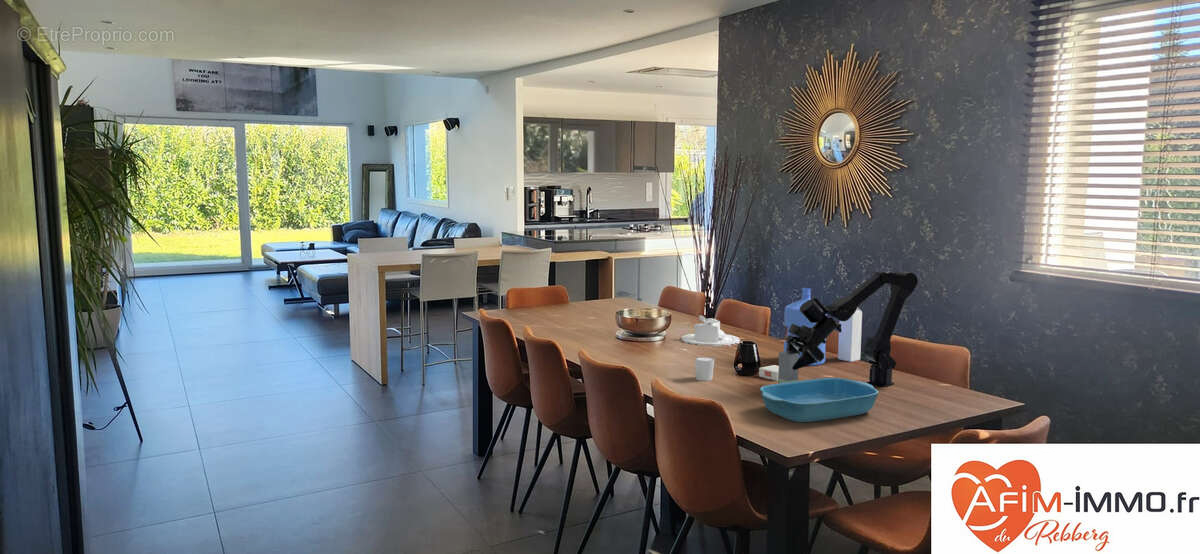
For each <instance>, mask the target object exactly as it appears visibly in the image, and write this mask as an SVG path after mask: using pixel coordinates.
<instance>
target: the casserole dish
mask: <svg viewBox="0 0 1200 554" xmlns="http://www.w3.org/2000/svg"><path fill="white" fill-rule="evenodd" d="M759 390H760V394H761V398H762V400H763V401H762V402H763V404H764V406H765V408H766V409H767V410H768V411H769V412H771V413H772V414H775V415H777V416H779V417H782V418H783V419H785V420H789V421H792V422H796V423H812V422H821V421H829V420H835V419H840V418H841V419H842V418H848V417H856V416H860V415H863V414H866V413H867V412H869V411H871V410H872V408H873V407H874V405H875V403H876V399H877V398H878V394H879V393H880V392H879V390H878V389H876V388H875V387H874V385H873V384H869V383H867V382H863V381H860V380H854V379H847V378H842V377H841V378H840V377H824V378H813V379H806V380H798V381H795V382H787V383H779V384H778V383H772V384H767V385H763V386H761V387H760V388H759Z"/></svg>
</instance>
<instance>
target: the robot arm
mask: <svg viewBox="0 0 1200 554" xmlns="http://www.w3.org/2000/svg"><path fill="white" fill-rule="evenodd" d="M887 284H889V285H890V297H889V298H888V299H889V300H888V302H887V304H886V308H885V311H884V313H883V315H882V318H881V320H880V323H879V326H878V328H877V330H876V334H875V335H874V336H872V337H870V336H868V337H867V339H866V342H865V344H864V346H863V349H864V350H863V354H864V356H865V358H866V359H867V361H868V364H870V368H869V377H868V379H869V380H868V381H867V382H866V383H868V384H870V385H873V386H877V387H878V386H879V387H888V386H893V385H895V382H893V381H892V380H893V369H895V368H896V365H897V361H895V360H894V358H893V357H892V356H891V350H892V344H891V342H892V341H891V339H892V336H893V333H894V331H895V328H896V326H897V323H898V321H899V317H900V315H901V313H902V310H903V308H904V305H905V303H906V302H905V301H907V299H908V298H909V297H910V296H911V295H912V294H913V293H914V291H915V289H916V288H917V286H918V284H919V279H918V277H917V276H916V274H915V273H913V272H908V271H905V270H904V271H903V270H898V271H896V272H888V271H882V270H877V271H874V274H873V275H872V276H871V277H870V278H868V279H866V281H864V282H863V283H862V284H861V285H859V286H858V287H857V288H855V289H854V290H853V291H852V292H851V293H849V294H848V295H846V296H843V297H840V298H838V299H837V300H835V301H833V302H831V303H830V305H823V304H822V303H821V301H820V300H819V299H818V298H817V297H815V296H813V297H811V298H810V300H808V301H806V302H804V303H803V304H802V305H801V307H800V309H799V310H800V312H801V313H802V314H803V315H804V316H805V317H806V318H807V319H808V320H809V321H810V322H811V323H814V322H815V323H816V324H815V325H814V326H813V327H812V328H808V327H806V326H804V325H802V326H801V327H799V326H797V325H795V324H792V325H791V327H790V329H789V331H788V330H787V333H788V332H789V333H792V334H794V335H796V336H794V335H789V336H788V335H787V337H786V338H785V341H786V343H787V350H786V351H791V352H796V353H799V355H800V354H801V352H802V355H801V356H800V358H799V359H798V360H797V362H796V363H795V364H794V366H793V367H792V369H793V370H796V369H798V370H799V369H801V368H804V367H807V365H810V364H813V363H817V361H819V362H821V361H822V360H823V359H824V353H823V352H822V351H821V350H820V349H819V348H818V346H819V345H820V344H821V343H823V344H825V343H827V338H828V337H829V336H830V335H831V334H832V333H833V332H834V331H835V332H838V333H839V332H842V330H841V324H839V322H836V320H837V321H847V320H849V319H850V318H851V316H852V315H853V314H854V313H855V312H856V310H857V307H858V308H859V306H860V305H861V304H863V303H864V302H865V301H866V300H867V299H868V298H870V297H871V296H872V295H874V294H875V293H876V292H877V291H878V290H879V289H881V288H882V287H884V286H885V285H887ZM825 314H827V316H826V315H825ZM828 316H830V317H828ZM797 336H798V337H797ZM825 339H826V341H825ZM825 345H826V344H825Z"/></svg>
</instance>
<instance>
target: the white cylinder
mask: <svg viewBox="0 0 1200 554" xmlns="http://www.w3.org/2000/svg"><path fill="white" fill-rule="evenodd" d="M694 366H695V367H694V368H695V379H696V380H697V381H702V382H707V381H708V382H709V381H713V376H714V367H715V359H714V358H712V357H703V356H702V357H701V356H700V357H696V358H694Z"/></svg>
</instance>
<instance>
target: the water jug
mask: <svg viewBox="0 0 1200 554" xmlns="http://www.w3.org/2000/svg"><path fill="white" fill-rule="evenodd" d="M801 290H802V292H801V299H799V300H797V301H794V302H792V303H790V304H788V305H786V306H785V307H784V316H783V317H784V325H785V326H786V327H787V337H788V336H789V335H794V334H792V333H789V332H788V331H789V329H790V327H791V325H792V324H795V325H797V326H799V327H801V326H802V325H804V326H806V327H808V328H812V327H813V326H814V325H815V324H816V323H815V322H814V323H811V322H810V321H809V320H808V319H807V318H806V317H805V316H804V315H803V314H802V313H801V312H800V310H799V309H800V307H801V305H802V304H803V303H804V302H806V301H808V300H810V299H811V288H808V287H806V288H805V287H804V288H801ZM825 315H826V316H827V317H828V315H827V314H825ZM794 336H796V335H794ZM797 337H798V336H797ZM786 341H787V340H785V341H784V343H783V352H784V351H786V350H787V343H786ZM825 341H826V343H827V338H826V339H825ZM826 343H825V344H823V343H821V344H820V345H819V346H818V348H819V349H820V350H821V351H822V352H823V353H824V359H823V360H822V361H821V362H819V361H817V363H813V364H810V365H807V366H808V367H810V366H812V367H813V366H820V365H823V364H824V363H825V362H826ZM801 355H802V352H801V354H800V355H799V358H800V356H801ZM807 366H806V367H807Z"/></svg>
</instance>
